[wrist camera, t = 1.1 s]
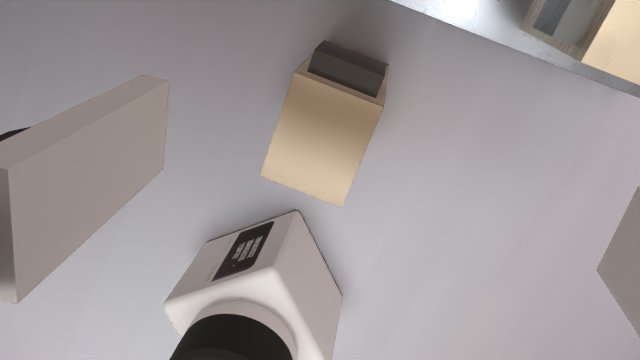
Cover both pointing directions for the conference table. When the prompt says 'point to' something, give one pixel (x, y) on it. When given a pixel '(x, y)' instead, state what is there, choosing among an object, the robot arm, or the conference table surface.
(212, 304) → the container
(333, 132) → the tan box
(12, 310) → the conference table surface
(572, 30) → the rail
